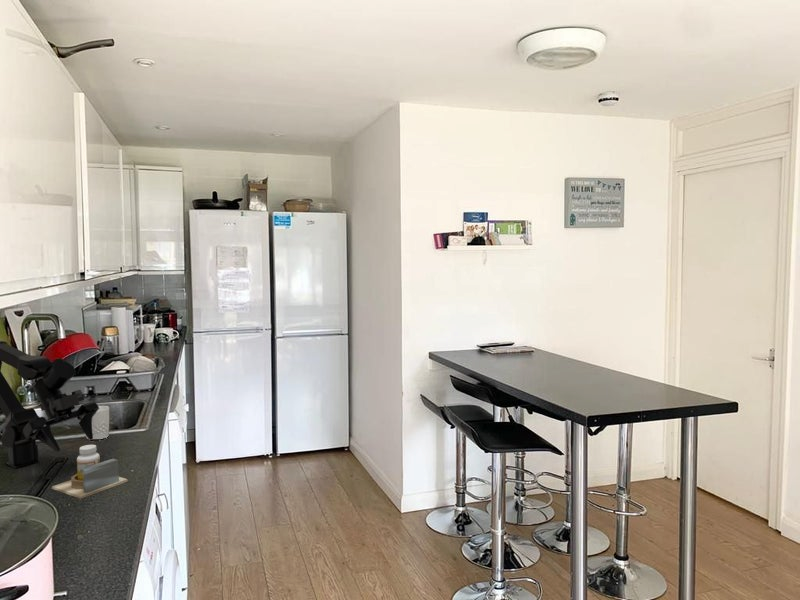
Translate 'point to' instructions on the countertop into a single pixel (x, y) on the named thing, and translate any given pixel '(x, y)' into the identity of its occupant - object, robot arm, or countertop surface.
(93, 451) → the supplement bottle
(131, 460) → the countertop surface
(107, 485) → the seat dock
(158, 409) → the countertop surface
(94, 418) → the white cup
